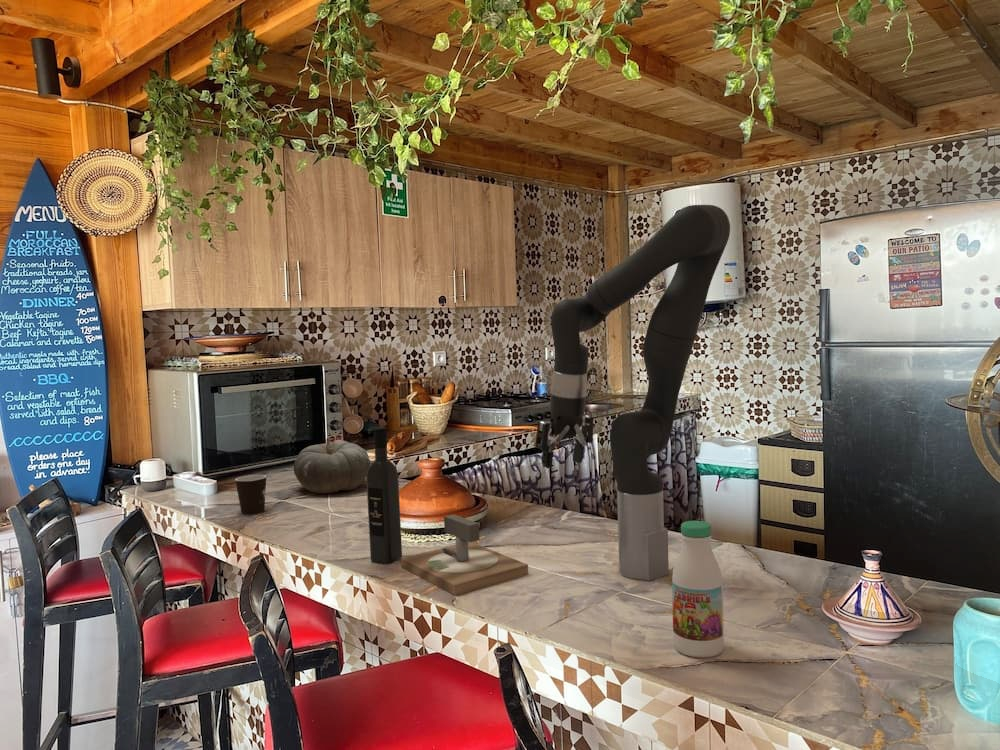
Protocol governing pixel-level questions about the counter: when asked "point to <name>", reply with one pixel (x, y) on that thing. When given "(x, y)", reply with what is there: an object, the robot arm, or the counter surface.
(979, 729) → the counter surface
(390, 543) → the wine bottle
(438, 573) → the wooden base stand
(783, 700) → the counter surface
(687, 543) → the milk bottle
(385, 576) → the counter surface
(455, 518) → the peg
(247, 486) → the coffee mug
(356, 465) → the gourd
